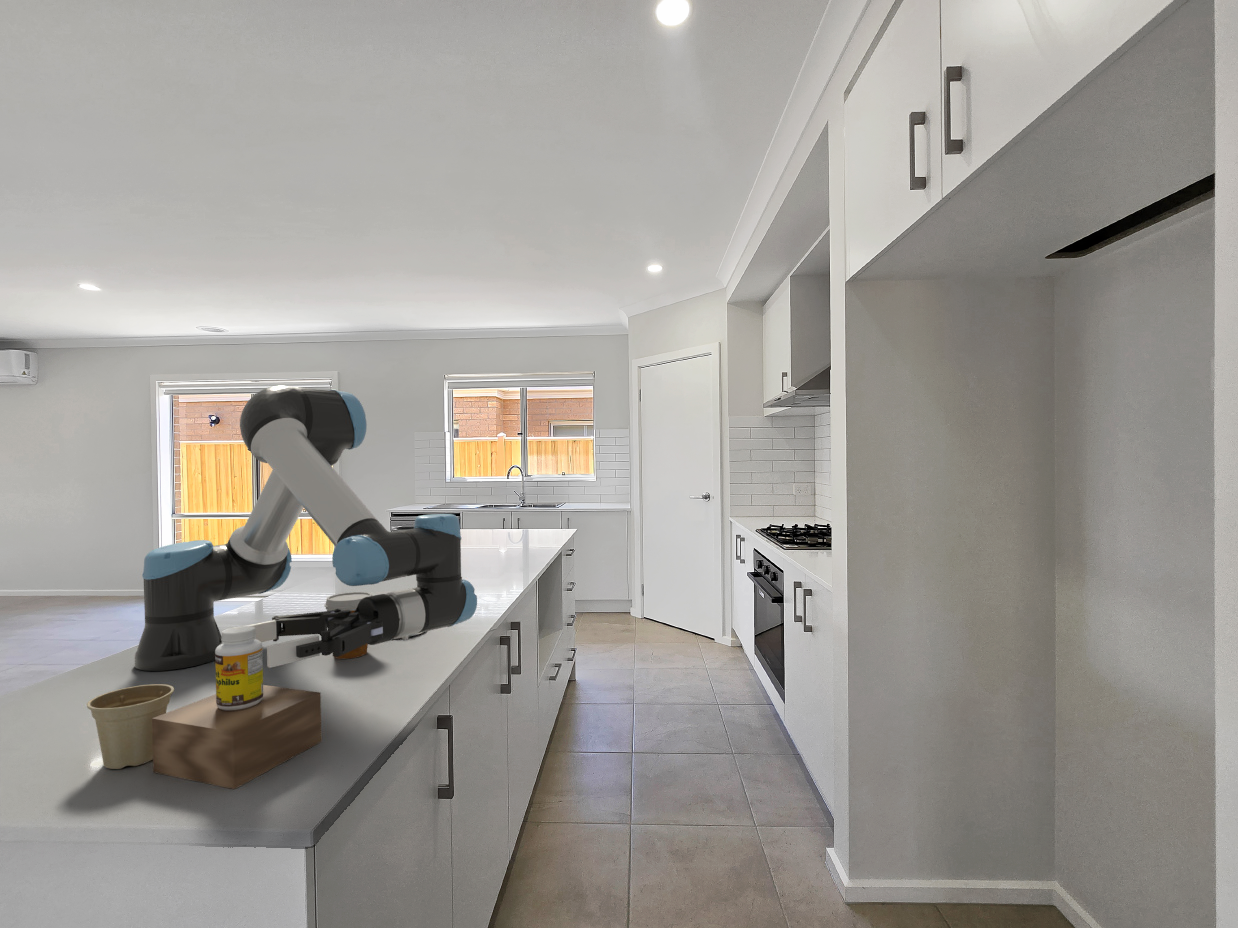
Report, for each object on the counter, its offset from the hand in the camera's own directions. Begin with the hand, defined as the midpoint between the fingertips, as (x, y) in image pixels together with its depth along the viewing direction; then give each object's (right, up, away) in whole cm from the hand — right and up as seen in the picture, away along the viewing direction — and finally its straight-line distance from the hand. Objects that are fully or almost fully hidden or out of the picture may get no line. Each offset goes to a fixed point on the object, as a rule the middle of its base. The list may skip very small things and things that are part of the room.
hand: (246, 647), depth 89 cm
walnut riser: (0, -15, 0) cm, 15 cm away
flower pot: (-15, -15, -1) cm, 21 cm away
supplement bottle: (-1, -8, 0) cm, 8 cm away
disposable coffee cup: (-4, -14, +46) cm, 48 cm away
